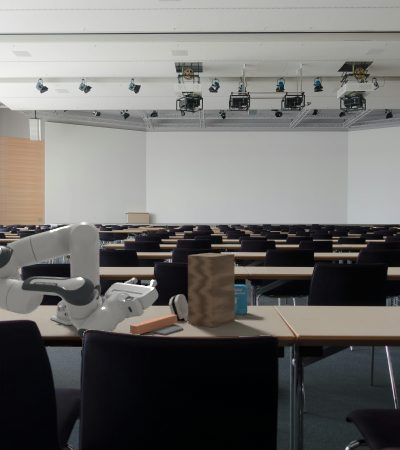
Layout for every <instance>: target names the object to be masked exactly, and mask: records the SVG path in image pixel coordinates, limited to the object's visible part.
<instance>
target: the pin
mask: <svg viewBox="0 0 400 450" xmlns="http://www.w3.org/2000/svg"><path fill="white" fill-rule="evenodd" d="M177 323H178V320H177V315H173V314H172V313H170V314H166V315H162V316H159V317H155V318H151V319H148V320H144V321H141V322H137V323H133V324H130V325H129V334H130V333H132V334H131V335H133V334H139V335H142V334H145V333H147V332H148V333H150V332H149V331H152V330H155V329H159V328H162V327H165V326H169V325H170V326H173V325H175V324H177Z"/></svg>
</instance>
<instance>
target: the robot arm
mask: <svg viewBox="0 0 400 450" xmlns="http://www.w3.org/2000/svg"><path fill="white" fill-rule="evenodd" d="M68 255H69V262H70V265H69V266H70V277H57V276H30V277H28V278H26V279H25V280H23V277H21V274H20V271H19V270H20V269H22V268H23V267H28V266H33V265H37V264H41V263H45V262H48V261H51V260H55V259H59V258H61V257H64V256H65V257H66V256H68ZM137 283H138V279H137V277H132V278H131V279H129V280H127V281H124V283H123V282H115V283H113V284H111V286H110V287H109V288H108V289H107V291H105V293H104V296H103V297H102V296H101V293H102V286H101V285H102V284H100V232H99V229H98V228H97V226H96V225H95V224H93V223H92V222H90V221H80V222H76V223H72V224H69V225H65V226H61V227H58V228H55V229H50V230H46V231H44V232H39V233H36V234H32V235H29V236H25V237H22V238H20V239H19V238H18V239H17V240H13V241H12V242H10V243H8V244H7V245H0V309H1V310H4V311H7V312H11V313H14V314H19V315H28V314H31V313H33V312H35V311H36V310H37V309H38V307H39V306H40V305H41V303H42V302H43V298H44V295H45V296H46V295H47V296H58V297H60V298H61V299H62V300H61V301H59V302H57V306H56V313H55V314H53V315H51V316H50V317H49V319H50V320H52V321H55V322H58V323H60V324H61V325H62V324H63V325H64V326H65V325H66V326H69V325H72V326H73V327H74V328H76V330H77V334H78V336H79V338H80V339H81V340H82V338H83V333H84V331H86V330H89V329H95V330H104V331H111V332H112V333H113V332H114V331H115V330H116V328H117V327H118V325H119V324H120V323H122V322H124V321H125V320H126V319H130V318H134V317H141V316H143V315H144V313H145V312H144V311H145V310H147V309H149V308H150V307H151V306H152V305H153V304H154V303H155V302H156V300H157V299H158V298H159V293H158V291H157V289H156V286H157V285H158V282H157V280H156V279H151V281H149V284H150V285H149V284H148V285H147V286H145V285H139V284H137Z"/></svg>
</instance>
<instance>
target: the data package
mask: <svg viewBox="0 0 400 450" xmlns="http://www.w3.org/2000/svg"><path fill="white" fill-rule="evenodd" d="M234 294H235V316H237V315H241V316H242V315H243V316H245V315H246V314H247V313H248V286H247V285H246V284H235V283H234Z"/></svg>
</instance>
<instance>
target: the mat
mask: <svg viewBox="0 0 400 450" xmlns="http://www.w3.org/2000/svg"><path fill="white" fill-rule="evenodd" d="M183 330H184V327H181V326H175V325H169V326H165V327H162V328H159V329H155V330H152V331H149V332H148V333H152V334H157V335H161V336H167V335H170V334H171V335H172V334H173V333H176V332H180V331H183Z"/></svg>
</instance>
